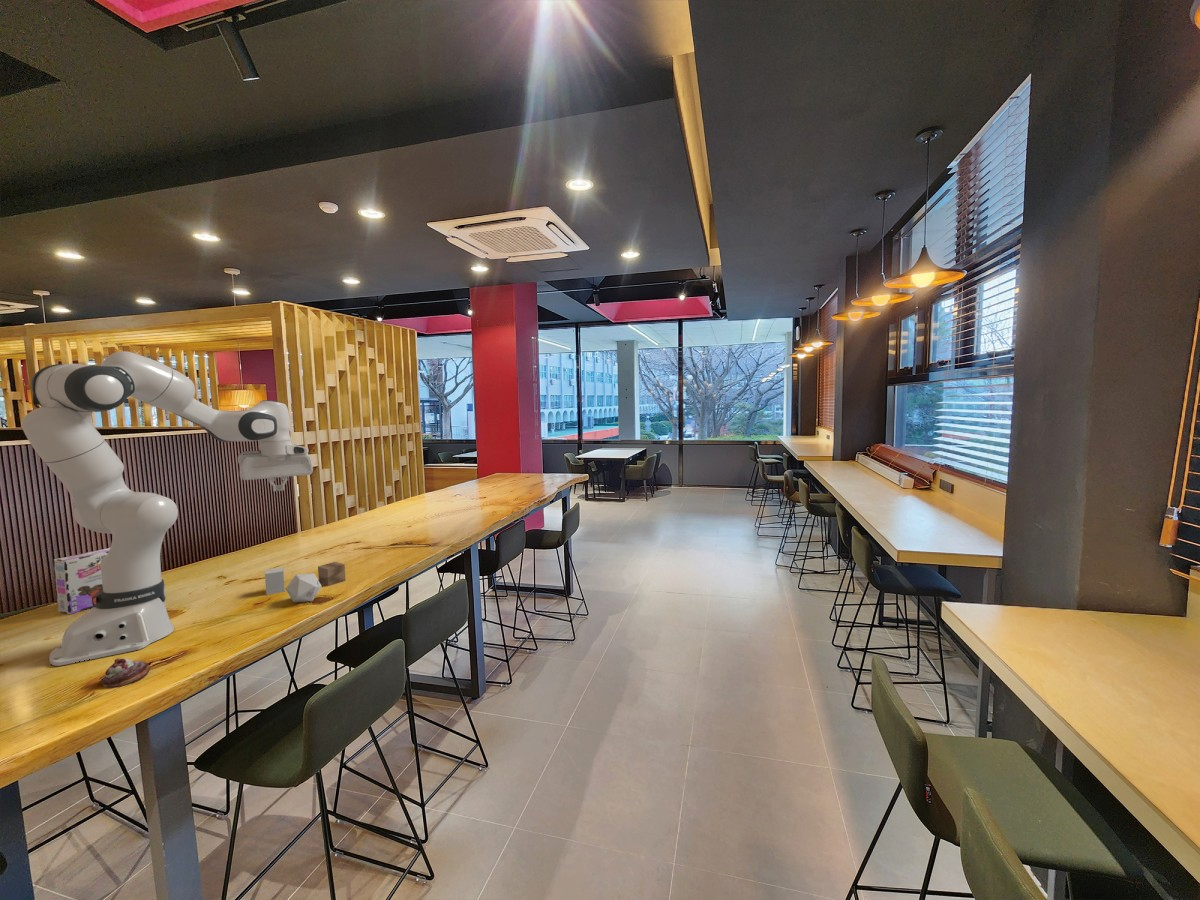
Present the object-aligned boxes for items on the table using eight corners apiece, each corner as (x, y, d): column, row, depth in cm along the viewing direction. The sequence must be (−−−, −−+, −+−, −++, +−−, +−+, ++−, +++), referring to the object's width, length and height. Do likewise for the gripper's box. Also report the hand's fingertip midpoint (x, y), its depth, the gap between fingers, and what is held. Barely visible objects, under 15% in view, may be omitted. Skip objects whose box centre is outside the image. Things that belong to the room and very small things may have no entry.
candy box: (69, 615, 142) (63, 560, 140) (57, 612, 143) (51, 559, 142) (127, 597, 155) (123, 548, 153) (116, 595, 156) (111, 546, 155)
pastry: (92, 687, 104) (89, 664, 104) (131, 668, 111) (129, 648, 111) (121, 690, 103) (119, 668, 102) (159, 671, 110) (157, 650, 110)
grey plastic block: (266, 595, 156) (264, 574, 155) (266, 590, 160) (265, 570, 159) (284, 591, 159) (283, 571, 158) (284, 587, 163) (283, 567, 162)
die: (300, 609, 145) (321, 579, 149) (274, 595, 145) (296, 565, 148) (311, 609, 153) (331, 580, 157) (286, 595, 153) (307, 567, 156)
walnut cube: (328, 586, 163) (327, 569, 163) (318, 583, 166) (317, 566, 166) (345, 580, 168) (344, 564, 168) (335, 578, 171) (335, 561, 171)
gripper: (238, 452, 150) (241, 495, 151) (312, 448, 164) (315, 488, 165) (235, 451, 154) (238, 493, 155) (308, 447, 168) (310, 486, 169)
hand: (278, 490), depth 160 cm, fingers closed
